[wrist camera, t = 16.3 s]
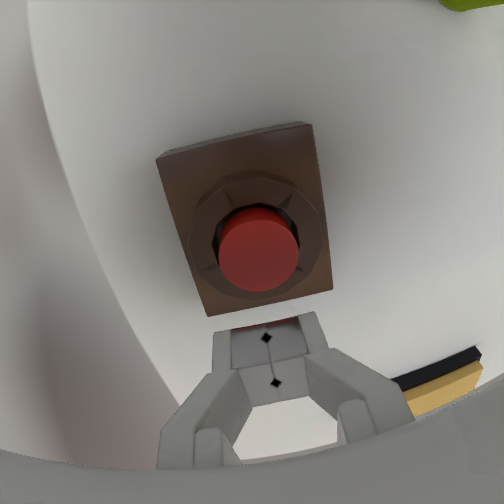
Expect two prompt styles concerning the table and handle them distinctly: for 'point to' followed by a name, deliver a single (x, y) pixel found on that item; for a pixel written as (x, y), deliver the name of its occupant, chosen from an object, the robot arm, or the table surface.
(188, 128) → the table surface
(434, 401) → the whetstone on a base
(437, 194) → the table surface
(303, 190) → the button block
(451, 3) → the vape
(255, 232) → the button
